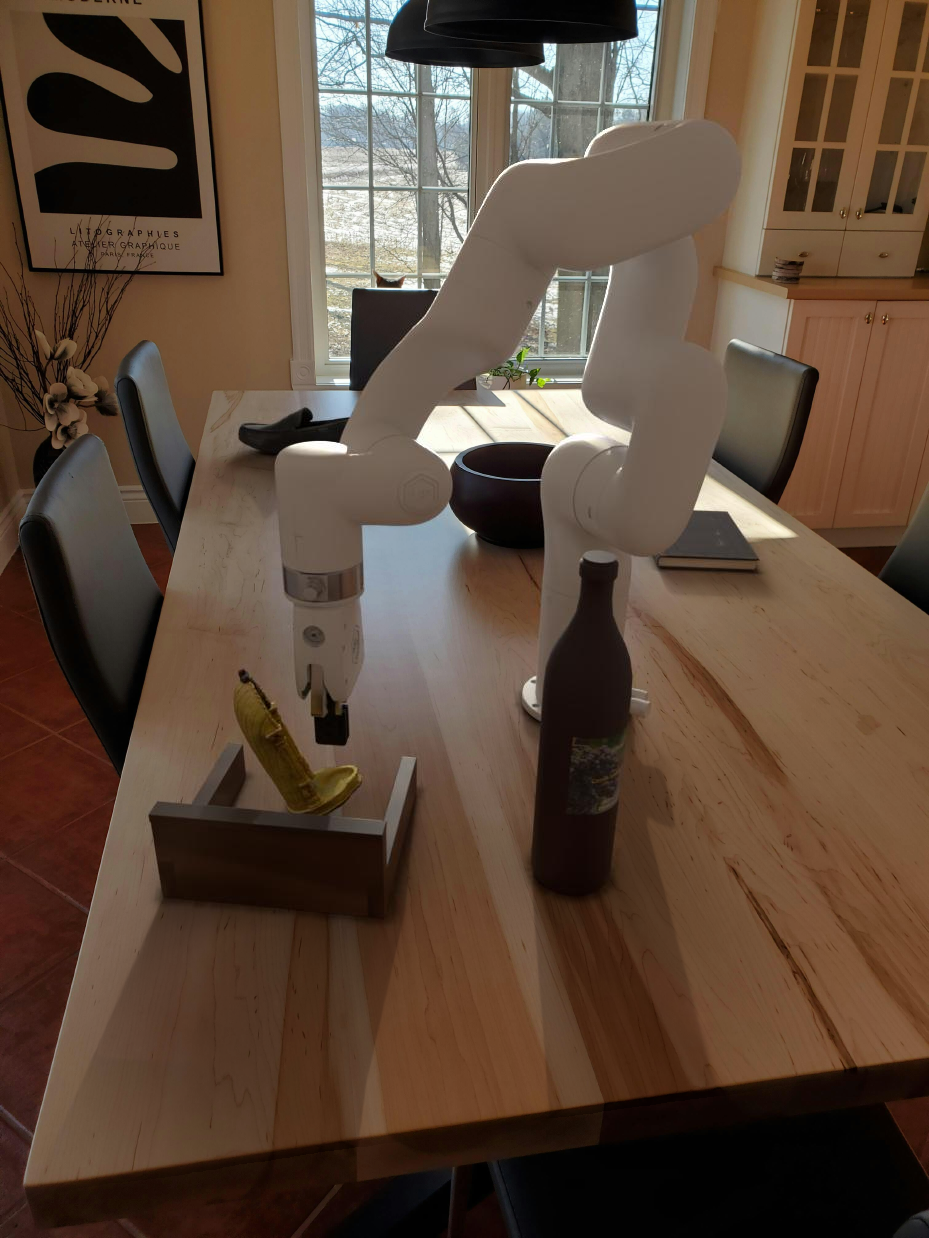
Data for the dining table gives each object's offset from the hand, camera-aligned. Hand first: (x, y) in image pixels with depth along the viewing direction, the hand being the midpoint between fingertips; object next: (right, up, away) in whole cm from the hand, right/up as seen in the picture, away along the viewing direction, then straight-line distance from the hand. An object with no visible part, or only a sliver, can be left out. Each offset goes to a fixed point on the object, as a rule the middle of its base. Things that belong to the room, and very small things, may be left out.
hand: (332, 740), depth 92 cm
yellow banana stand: (-2, -6, -5) cm, 8 cm away
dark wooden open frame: (-2, -7, -9) cm, 12 cm away
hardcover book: (+53, +25, +62) cm, 85 cm away
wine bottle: (+23, -10, -12) cm, 28 cm away
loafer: (-22, +49, +107) cm, 120 cm away
